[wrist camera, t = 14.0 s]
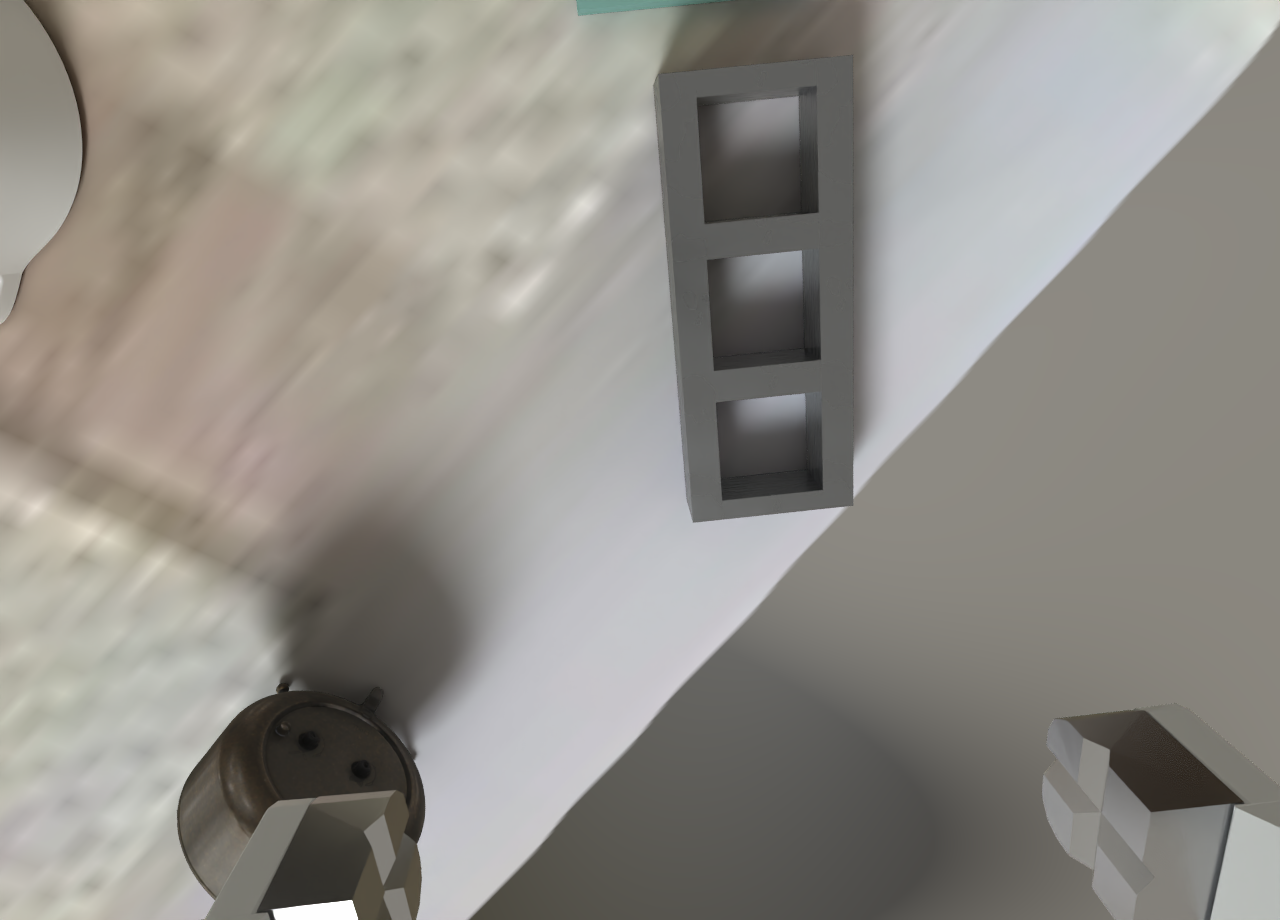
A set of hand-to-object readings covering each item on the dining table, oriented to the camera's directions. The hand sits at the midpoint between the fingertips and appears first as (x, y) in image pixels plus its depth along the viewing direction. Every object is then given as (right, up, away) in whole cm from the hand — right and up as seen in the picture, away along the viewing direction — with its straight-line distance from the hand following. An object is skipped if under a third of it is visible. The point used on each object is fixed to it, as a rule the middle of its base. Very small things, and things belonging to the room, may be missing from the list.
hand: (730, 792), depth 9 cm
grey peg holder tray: (+4, +12, +27) cm, 30 cm away
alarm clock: (-17, -10, +34) cm, 39 cm away
